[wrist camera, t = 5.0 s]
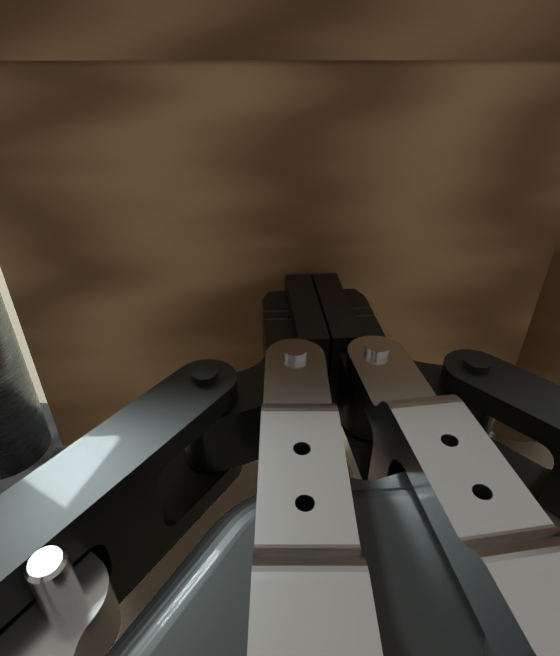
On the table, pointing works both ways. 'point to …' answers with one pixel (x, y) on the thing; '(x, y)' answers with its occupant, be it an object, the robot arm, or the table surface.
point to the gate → (274, 180)
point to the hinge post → (21, 414)
